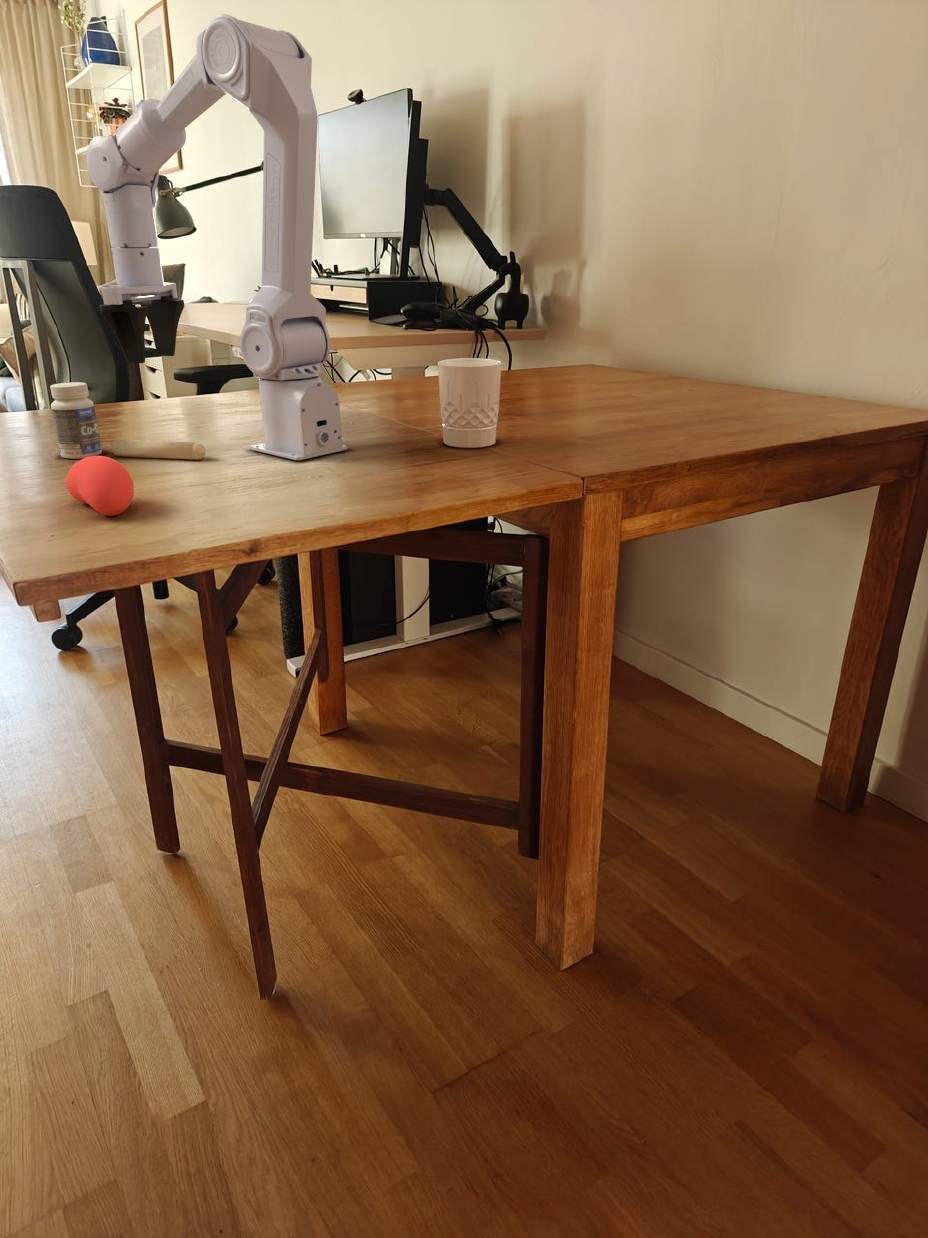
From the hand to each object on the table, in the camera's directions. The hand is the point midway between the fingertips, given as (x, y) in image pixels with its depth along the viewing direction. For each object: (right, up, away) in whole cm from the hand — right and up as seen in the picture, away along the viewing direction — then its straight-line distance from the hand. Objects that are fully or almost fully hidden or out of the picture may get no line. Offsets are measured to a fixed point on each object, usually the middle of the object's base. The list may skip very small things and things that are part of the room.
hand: (151, 359), depth 111 cm
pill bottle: (-5, -15, -10) cm, 19 cm away
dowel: (+5, -15, -12) cm, 20 cm away
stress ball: (+7, -24, -31) cm, 40 cm away
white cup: (+42, -12, -4) cm, 44 cm away
